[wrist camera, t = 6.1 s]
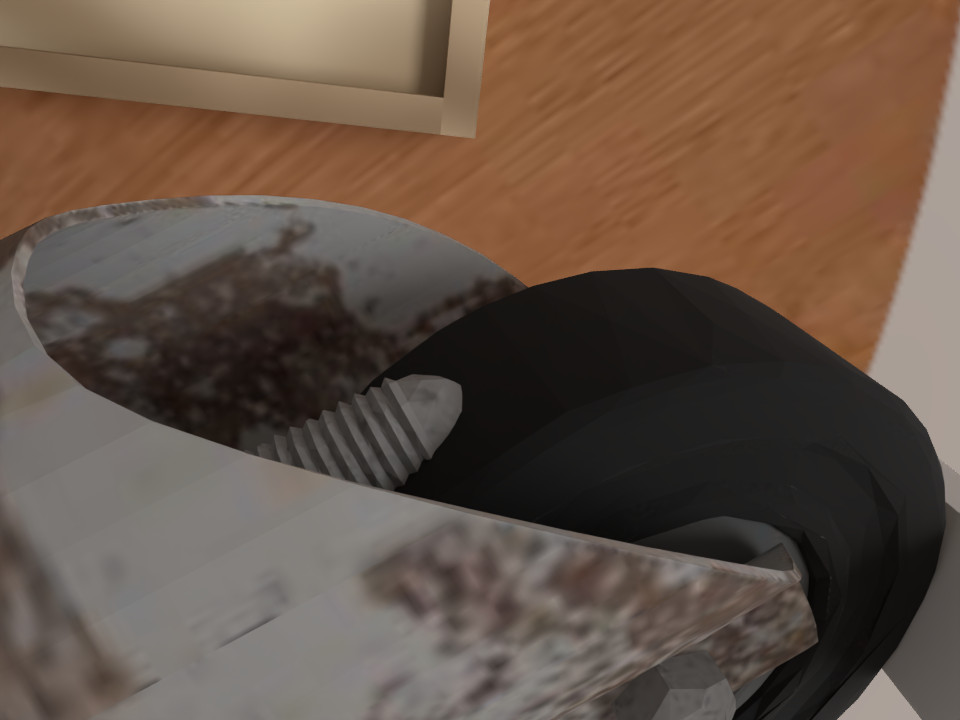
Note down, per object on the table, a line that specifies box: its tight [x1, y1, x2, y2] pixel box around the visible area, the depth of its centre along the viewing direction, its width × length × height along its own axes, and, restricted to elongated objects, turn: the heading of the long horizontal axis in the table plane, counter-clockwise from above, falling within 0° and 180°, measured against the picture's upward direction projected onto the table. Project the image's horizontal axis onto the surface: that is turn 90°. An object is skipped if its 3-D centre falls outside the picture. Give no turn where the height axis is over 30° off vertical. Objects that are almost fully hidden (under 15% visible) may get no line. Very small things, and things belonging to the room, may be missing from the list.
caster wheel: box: [0, 195, 946, 720], centre depth 9 cm, size 7×11×10 cm
